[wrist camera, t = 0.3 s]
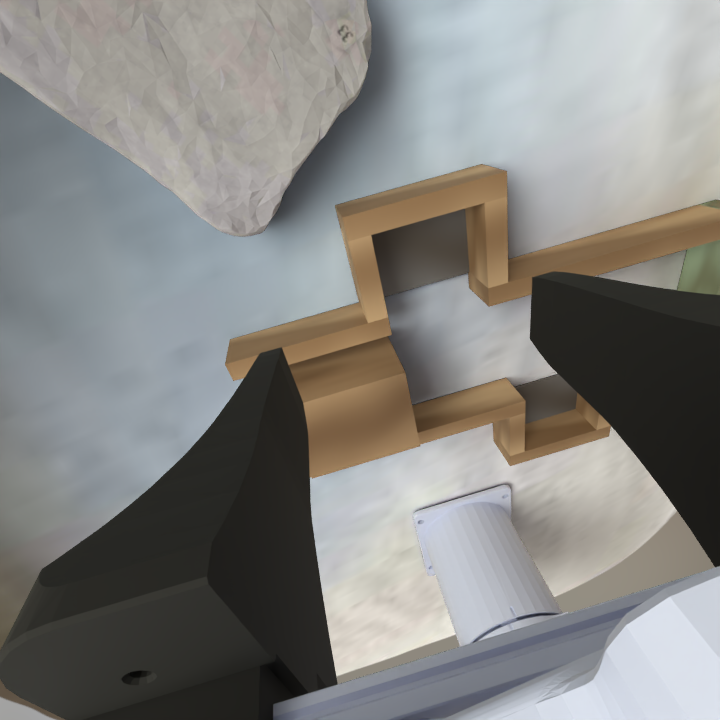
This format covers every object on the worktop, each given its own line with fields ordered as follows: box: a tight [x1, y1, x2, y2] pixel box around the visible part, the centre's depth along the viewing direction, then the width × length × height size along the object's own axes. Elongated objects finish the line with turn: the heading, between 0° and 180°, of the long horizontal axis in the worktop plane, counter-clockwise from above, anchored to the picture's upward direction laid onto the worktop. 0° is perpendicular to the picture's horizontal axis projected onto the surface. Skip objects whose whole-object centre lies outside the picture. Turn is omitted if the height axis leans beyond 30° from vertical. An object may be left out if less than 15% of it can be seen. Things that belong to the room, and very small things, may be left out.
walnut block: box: [289, 336, 420, 478], centre depth 22 cm, size 5×6×4 cm
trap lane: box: [225, 164, 720, 477], centre depth 22 cm, size 18×27×2 cm
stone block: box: [0, 0, 371, 237], centre depth 13 cm, size 12×5×10 cm
